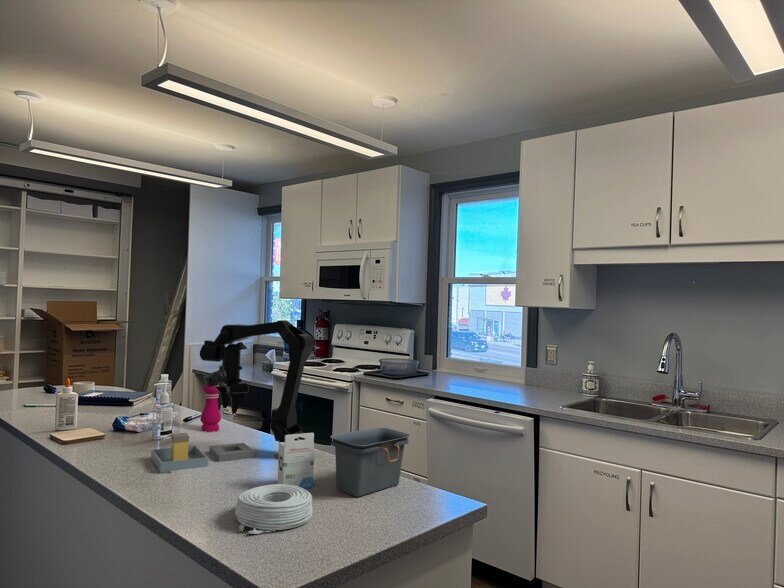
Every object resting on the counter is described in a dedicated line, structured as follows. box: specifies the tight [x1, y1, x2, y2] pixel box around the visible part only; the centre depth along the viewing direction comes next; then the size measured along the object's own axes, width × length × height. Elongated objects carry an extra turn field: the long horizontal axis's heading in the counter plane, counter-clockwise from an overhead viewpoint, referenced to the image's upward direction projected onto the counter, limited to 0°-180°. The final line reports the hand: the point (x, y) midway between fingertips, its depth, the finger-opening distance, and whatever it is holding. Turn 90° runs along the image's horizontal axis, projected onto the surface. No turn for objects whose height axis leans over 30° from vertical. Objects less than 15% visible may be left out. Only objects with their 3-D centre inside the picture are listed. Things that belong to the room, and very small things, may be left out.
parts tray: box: [150, 445, 209, 475], centre depth 166 cm, size 15×13×3 cm
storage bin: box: [329, 427, 411, 497], centre depth 152 cm, size 21×16×14 cm
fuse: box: [170, 432, 190, 461], centre depth 166 cm, size 4×4×8 cm
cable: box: [234, 483, 314, 535], centre depth 129 cm, size 18×18×6 cm
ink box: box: [277, 432, 315, 489], centre depth 151 cm, size 9×5×15 cm, turn 117°
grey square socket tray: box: [208, 442, 256, 463], centre depth 176 cm, size 11×11×2 cm
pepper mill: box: [200, 383, 222, 433], centre depth 208 cm, size 7×7×20 cm
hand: (229, 410), depth 183 cm, fingers open, 9 cm apart
